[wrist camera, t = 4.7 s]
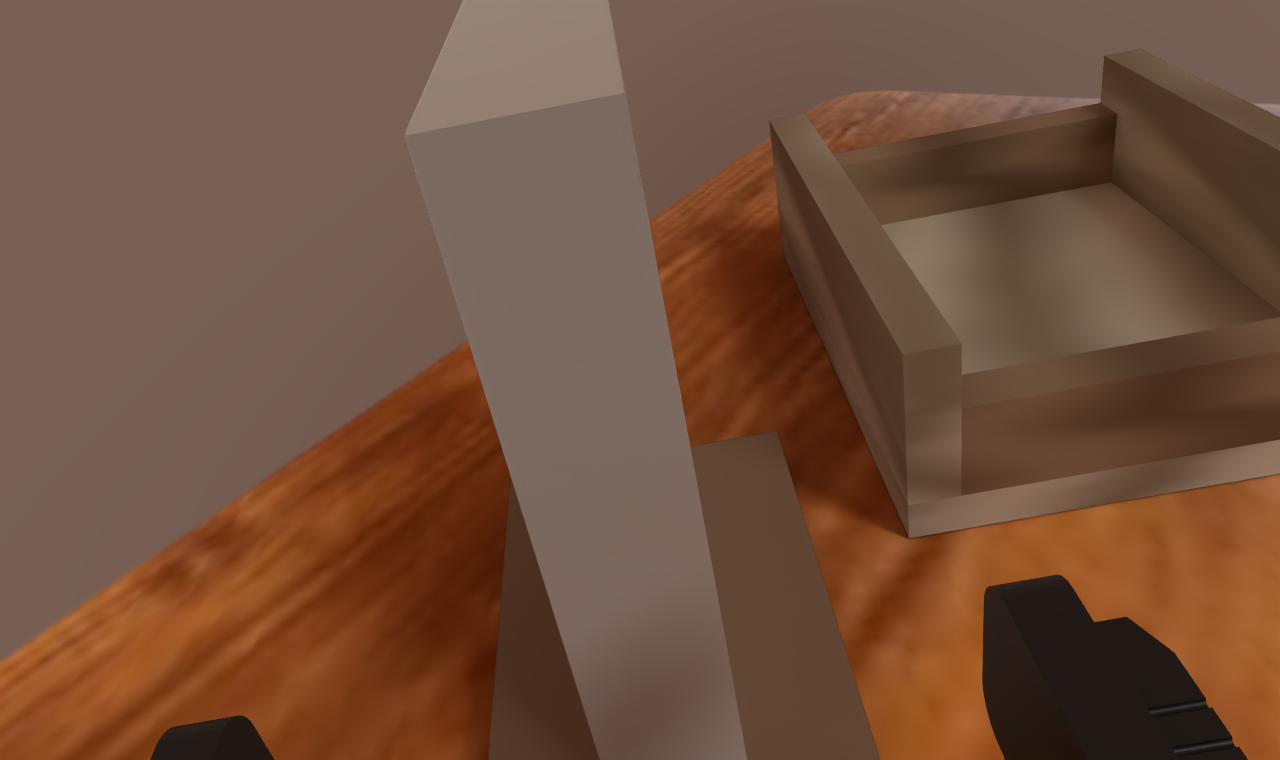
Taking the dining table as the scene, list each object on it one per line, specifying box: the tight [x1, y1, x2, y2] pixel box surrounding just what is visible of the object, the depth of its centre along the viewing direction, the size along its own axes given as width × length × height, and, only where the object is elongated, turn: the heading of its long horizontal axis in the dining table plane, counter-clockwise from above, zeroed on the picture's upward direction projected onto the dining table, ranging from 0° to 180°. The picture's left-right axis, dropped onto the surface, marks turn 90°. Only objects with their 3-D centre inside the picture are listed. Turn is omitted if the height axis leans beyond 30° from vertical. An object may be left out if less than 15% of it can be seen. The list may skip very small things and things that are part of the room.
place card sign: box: [404, 0, 880, 760], centre depth 18 cm, size 7×10×13 cm
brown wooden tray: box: [769, 49, 1280, 538], centre depth 27 cm, size 12×15×5 cm
